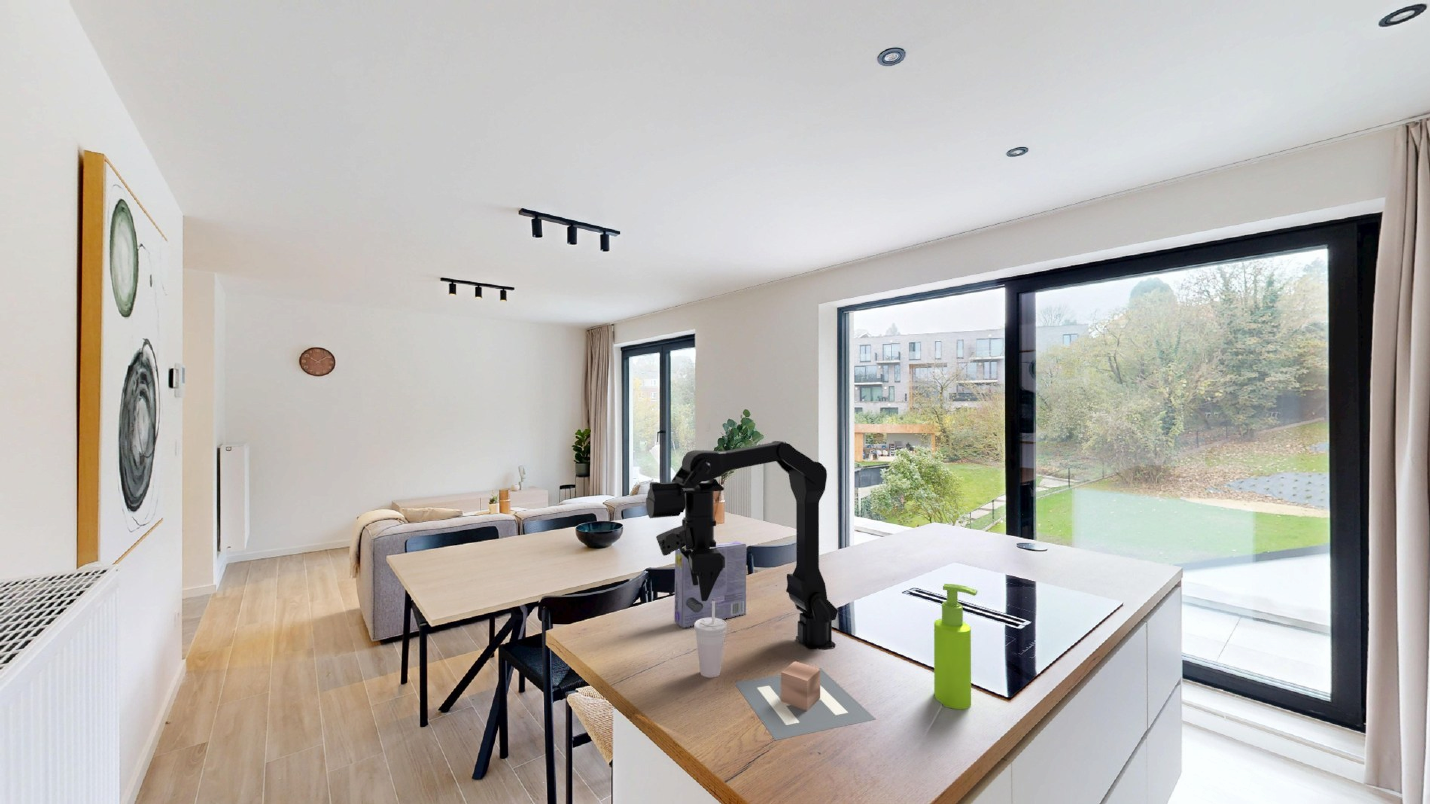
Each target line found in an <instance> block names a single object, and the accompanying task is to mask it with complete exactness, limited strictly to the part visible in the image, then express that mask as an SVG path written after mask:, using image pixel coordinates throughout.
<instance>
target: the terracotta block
mask: <svg viewBox="0 0 1430 804" xmlns="http://www.w3.org/2000/svg"><path fill="white" fill-rule="evenodd" d="M780 675H781V701H782V702H785V703H787V704H790V705H792V706H795V707H798V708H800V709H803V710H806V711H808V710H809V709H810V708H811V707H812V706H813V705H814V704H815V703H816V702H817V701H818V700H819V699H820V669H818V668H817V667H814V666H811V665H807V664H805V663H801V662H798V661H793V662H792V663H790V664H789V665H788V666H787V667H785V668H784V669H783V670H782V671H780Z"/></svg>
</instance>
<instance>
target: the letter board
mask: <svg viewBox="0 0 1430 804" xmlns="http://www.w3.org/2000/svg"><path fill="white" fill-rule="evenodd" d="M818 669H820V699H819V700H818V701H817V702H816V703H815V704H814V705H813V706H812V707H811V708H810V709H809V710H808V711H806V710H803V709H800V708H798V707H795V706H792V705H790V704H787V703H785V702H782V701H781V674H777V675H771V676H765V677H759V678H754V679H747V680H742V681H741V680H740V681H736V682H735V681H734V682H733V683H734V685H735V686H736V688H737V689H738V690H739V692H740V693H741V695H742V696H743V698H745V700H746V702H747V703H748V705H749V706H750V707H751V708H752V710H753V711H754V713H755V714H756V715H757V717H758V719H759V720H760V721H761V723H762V724H763V725H764V727H765V728H766V729H767V731H768V733H769V734H770V736H771V737H772V738H773V740H775V741H779V740H784V739H788V738H794V737H798V736H803V735H808V734H811V733H818V732H822V731H827V730H832V729H836V728H837V729H838V728H841V727H842V728H843V727H846V726H851V725H855V724H861V723H865V722H870V721H875V720H877V718H876V717H875V716H873V715H872V714H871V713H870V712H869V711H868V710H867V709H866V708H865V707H864V706H863V705H861V703H859V702H858V701H857V700H856V699H855V698H854V697H853V696H852V695H850V694H849V693H848V692H847V690H845V689H844V688H843V687H842V686H841V685H839V683H837V682H836V681H835V680H834V679H833V678H832V677H831V676H830V674H829V675H828V673H827V672H825V670H823V669H822V668H821V667H819V668H818Z"/></svg>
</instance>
